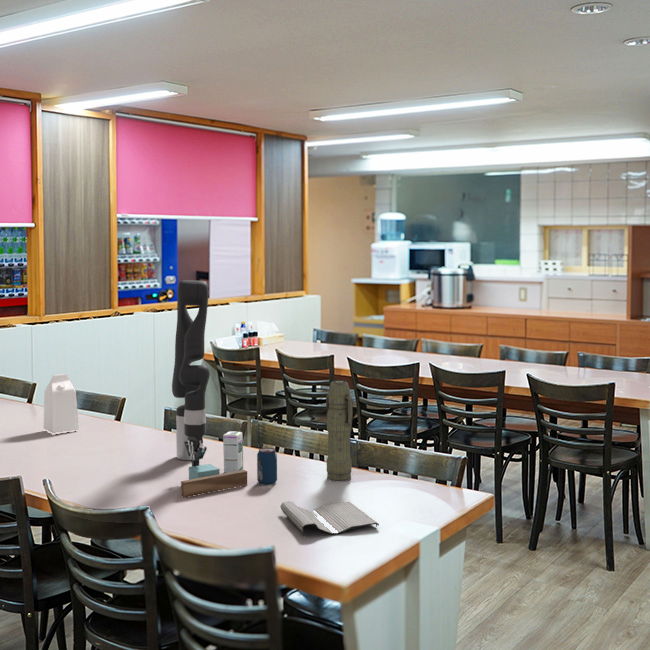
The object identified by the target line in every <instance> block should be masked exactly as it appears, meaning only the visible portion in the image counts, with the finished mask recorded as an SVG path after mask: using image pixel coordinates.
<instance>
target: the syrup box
mask: <svg viewBox="0 0 650 650" xmlns="http://www.w3.org/2000/svg"><path fill="white" fill-rule="evenodd" d="M222 438H223V439H222V441H223V473H229V472H234V471H239V470H244V450H243V449H244V446H243V443H244V441H243V439H244V438H243V432H242V431H234V430H233V431H227V432H226V433H224V434H223V435H222Z"/></svg>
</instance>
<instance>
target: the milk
mask: <svg viewBox="0 0 650 650" xmlns="http://www.w3.org/2000/svg"><path fill="white" fill-rule="evenodd" d="M43 399H44V401H43V428H44V429H46V430H48V431H50V432H52V433H56V432H63V431H71V430H78V429H79V428H80V426H79V413H78V400H77V391H76V389H75V387H74V386H73V383H72V381H70V378H69V377H68V375H67V374H66V373H62V374H53V375H52V376H51V379H50V381H49V383H48V385H47V386H46V387H45V390H44V398H43ZM79 430H80V429H79Z"/></svg>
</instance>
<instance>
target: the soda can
mask: <svg viewBox="0 0 650 650" xmlns="http://www.w3.org/2000/svg"><path fill="white" fill-rule="evenodd" d="M256 459H257V460H256V462H257V463H256V468H257V469H256V471H257V473H256V480H257V483H258V484H259V485H261V486H273V485H275V484H276V482H277V481H278V454H277V451H276V449H275V448H273V447H262V448H259V449H258V452H257V454H256Z"/></svg>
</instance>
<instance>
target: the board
mask: <svg viewBox="0 0 650 650" xmlns="http://www.w3.org/2000/svg"><path fill="white" fill-rule="evenodd" d="M245 485H246V486H248V471H247V470H245V469H243V470H239V471H234V472H229V473H224V472H223V473H220V474H218V475H212V476H207V477H202V478H196V479H191V480H189V479H186V480H182V481H180V490H181V492H180V493H181V494H180V495H181V497H182V496H183V497H182V498H184V497H186V498H189V497H188V496H191V497H194V496H193V495H196V496H199V495H198V494H201V495H203V494H202V493H206V494H209V493H208V492H211V493H214V492H213V491H216V492H219V491H218V490H221V491H224V490H223V489H226V490H229V489H228V488H231V489H235V488H234V487H236V488H241V487H246V486H245ZM240 486H241V487H240Z"/></svg>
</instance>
